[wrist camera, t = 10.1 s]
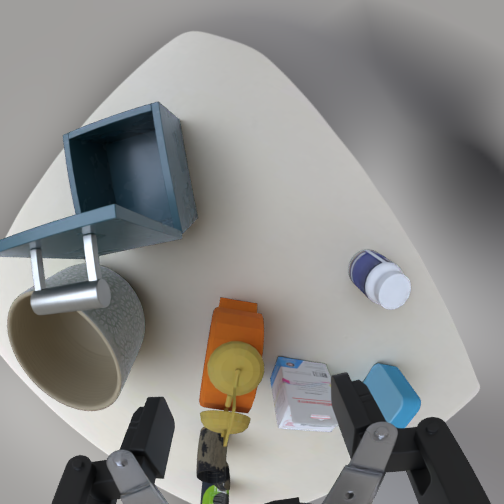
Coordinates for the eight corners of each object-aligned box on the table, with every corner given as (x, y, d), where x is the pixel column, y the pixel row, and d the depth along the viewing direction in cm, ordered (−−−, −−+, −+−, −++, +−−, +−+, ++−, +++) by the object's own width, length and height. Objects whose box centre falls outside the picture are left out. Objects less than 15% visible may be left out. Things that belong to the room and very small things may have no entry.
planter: (62, 333, 43) (17, 381, 29) (63, 241, 39) (0, 272, 25) (149, 362, 45) (122, 427, 30) (162, 269, 41) (124, 318, 26)
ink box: (269, 378, 46) (278, 445, 32) (278, 355, 45) (291, 421, 31) (315, 385, 47) (336, 448, 33) (326, 362, 46) (352, 424, 32)
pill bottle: (348, 289, 43) (375, 319, 33) (345, 252, 41) (373, 275, 32) (382, 280, 43) (414, 307, 33) (380, 245, 41) (414, 264, 32)
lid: (-15, 245, 14) (-5, 322, 14) (114, 202, 14) (129, 307, 14) (83, 251, 29) (90, 301, 29) (181, 230, 29) (190, 286, 28)
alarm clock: (218, 286, 42) (201, 373, 23) (261, 293, 42) (275, 384, 23) (206, 361, 45) (190, 460, 26) (244, 367, 46) (246, 467, 26)
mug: (194, 428, 49) (187, 476, 38) (218, 421, 49) (215, 470, 37) (216, 449, 51) (214, 495, 40) (239, 442, 51) (240, 489, 39)
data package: (363, 410, 50) (383, 453, 38) (344, 408, 49) (363, 453, 38) (395, 363, 47) (424, 403, 35) (376, 359, 47) (405, 402, 35)
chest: (102, 142, 36) (62, 135, 26) (179, 119, 36) (158, 101, 26) (120, 234, 40) (85, 254, 29) (198, 218, 39) (182, 233, 29)
